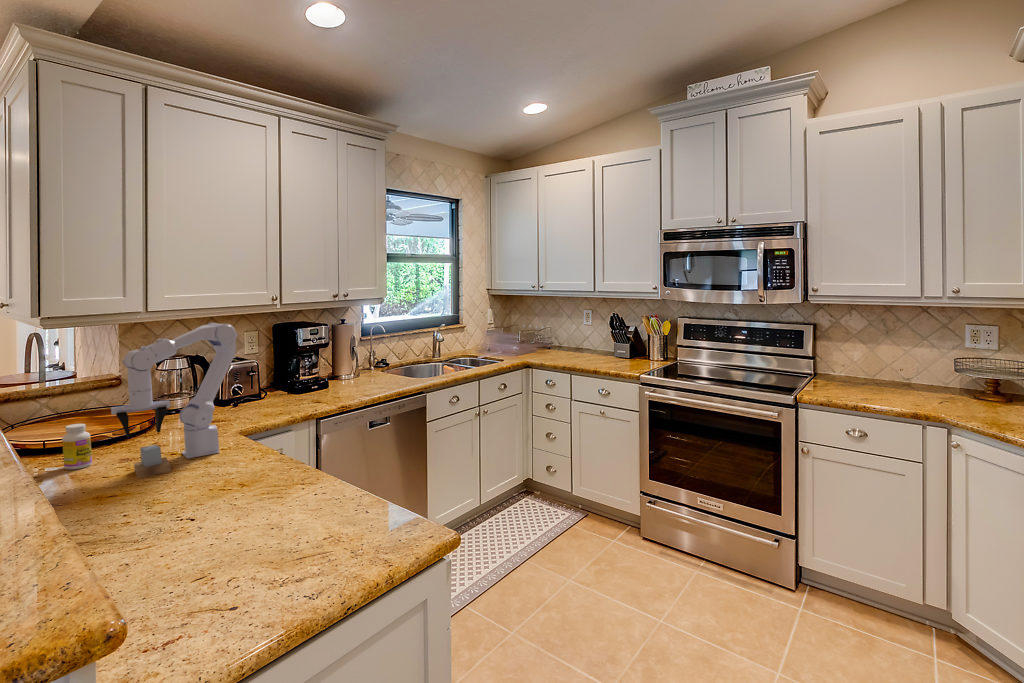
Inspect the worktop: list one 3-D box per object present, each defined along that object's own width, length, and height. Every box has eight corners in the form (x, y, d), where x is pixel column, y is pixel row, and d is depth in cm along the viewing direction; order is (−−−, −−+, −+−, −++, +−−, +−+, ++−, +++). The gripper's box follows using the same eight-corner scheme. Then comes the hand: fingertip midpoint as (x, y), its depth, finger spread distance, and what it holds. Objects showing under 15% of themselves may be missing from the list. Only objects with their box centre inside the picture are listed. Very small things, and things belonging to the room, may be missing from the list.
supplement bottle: (76, 471, 156) (73, 429, 155) (58, 469, 157) (54, 427, 156) (98, 463, 163) (95, 423, 161) (80, 462, 164) (77, 422, 163)
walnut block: (166, 466, 162) (165, 457, 162) (171, 473, 156) (170, 463, 156) (134, 472, 157) (134, 463, 156) (138, 480, 151) (137, 470, 150)
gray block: (157, 460, 158) (155, 444, 158) (161, 463, 156) (160, 447, 155) (141, 464, 155) (140, 447, 155) (145, 467, 153) (144, 450, 152)
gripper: (165, 385, 165) (168, 427, 167) (108, 391, 155) (111, 435, 157) (170, 388, 160) (173, 431, 162) (111, 394, 150) (115, 440, 152)
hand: (143, 434), depth 159 cm, fingers open, 7 cm apart
